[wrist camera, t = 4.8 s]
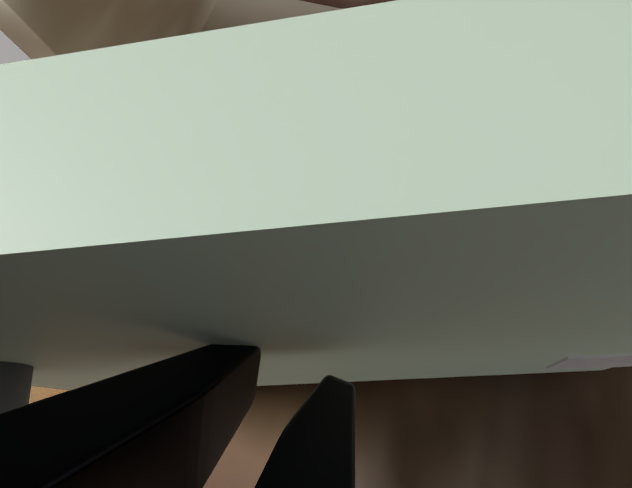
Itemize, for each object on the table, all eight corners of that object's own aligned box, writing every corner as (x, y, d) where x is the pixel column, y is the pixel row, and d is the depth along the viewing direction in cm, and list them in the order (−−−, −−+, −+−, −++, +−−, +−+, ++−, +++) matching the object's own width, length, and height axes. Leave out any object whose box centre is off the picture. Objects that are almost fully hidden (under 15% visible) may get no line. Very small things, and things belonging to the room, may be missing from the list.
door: (624, 428, 11) (1615, 417, 2) (90, 443, 13) (-697, 473, 4) (598, 299, 12) (1173, -133, 3) (102, 332, 14) (-514, 142, 5)
